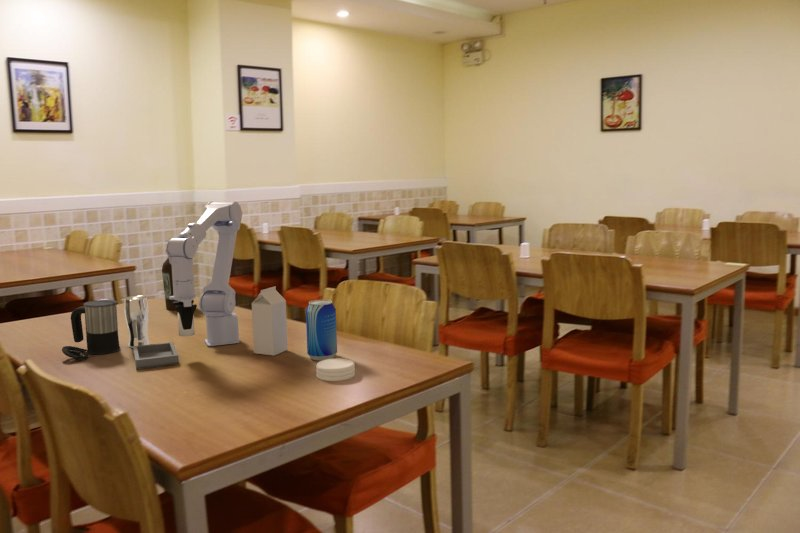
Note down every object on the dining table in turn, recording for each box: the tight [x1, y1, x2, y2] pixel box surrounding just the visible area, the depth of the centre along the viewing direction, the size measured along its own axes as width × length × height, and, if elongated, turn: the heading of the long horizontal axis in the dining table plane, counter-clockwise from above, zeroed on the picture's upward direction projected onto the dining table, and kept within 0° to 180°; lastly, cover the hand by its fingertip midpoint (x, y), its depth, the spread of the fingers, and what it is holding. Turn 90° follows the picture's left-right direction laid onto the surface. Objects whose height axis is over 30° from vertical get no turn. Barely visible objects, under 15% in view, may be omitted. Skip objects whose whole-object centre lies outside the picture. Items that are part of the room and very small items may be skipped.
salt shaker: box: [177, 312, 196, 337], centre depth 190 cm, size 4×4×8 cm
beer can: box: [305, 299, 338, 361], centre depth 189 cm, size 8×8×16 cm
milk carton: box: [251, 285, 289, 357], centre depth 195 cm, size 7×7×19 cm
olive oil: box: [161, 256, 177, 311], centre depth 260 cm, size 11×11×25 cm
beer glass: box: [123, 295, 150, 349], centre depth 205 cm, size 7×7×15 cm
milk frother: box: [61, 299, 121, 361], centre depth 196 cm, size 14×16×15 cm
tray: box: [132, 341, 180, 370], centre depth 190 cm, size 11×16×3 cm
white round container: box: [315, 357, 356, 382], centre depth 173 cm, size 10×10×4 cm
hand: (186, 327), depth 190 cm, fingers closed on salt shaker, 4 cm apart
